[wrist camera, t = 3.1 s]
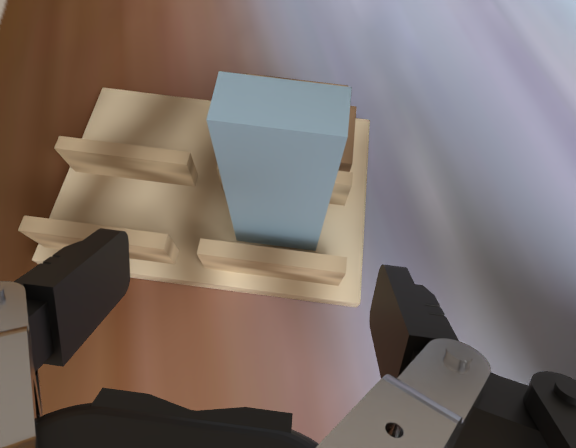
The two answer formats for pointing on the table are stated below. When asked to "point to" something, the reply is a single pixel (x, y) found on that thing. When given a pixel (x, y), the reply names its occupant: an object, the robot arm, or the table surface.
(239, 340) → the table surface
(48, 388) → the table surface
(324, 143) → the slate-blue rectangular block
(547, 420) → the robot arm
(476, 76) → the table surface
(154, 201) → the maple rack
